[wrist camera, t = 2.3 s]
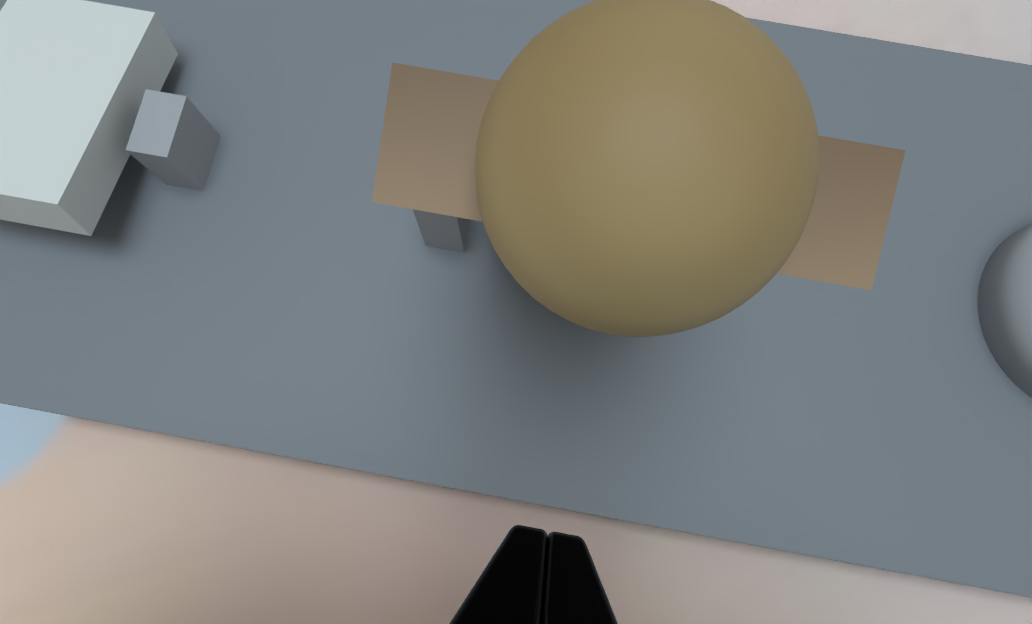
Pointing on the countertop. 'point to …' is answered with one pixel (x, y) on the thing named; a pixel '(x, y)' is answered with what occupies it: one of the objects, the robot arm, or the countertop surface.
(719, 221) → the walnut lever
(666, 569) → the countertop surface
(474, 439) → the switch panel
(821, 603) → the countertop surface
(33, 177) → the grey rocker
